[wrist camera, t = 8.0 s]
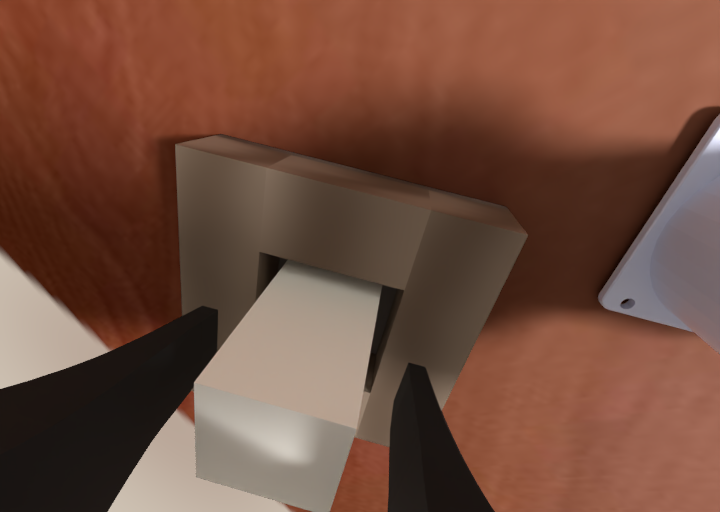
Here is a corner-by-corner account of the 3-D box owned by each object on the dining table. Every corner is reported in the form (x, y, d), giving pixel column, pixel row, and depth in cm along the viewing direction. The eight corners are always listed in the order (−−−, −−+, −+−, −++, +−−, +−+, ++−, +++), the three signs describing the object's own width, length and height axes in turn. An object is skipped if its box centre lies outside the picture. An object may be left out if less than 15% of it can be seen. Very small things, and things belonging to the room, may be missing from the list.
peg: (385, 268, 15) (356, 428, 8) (365, 335, 17) (327, 516, 10) (298, 245, 15) (193, 382, 8) (288, 315, 17) (196, 477, 10)
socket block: (506, 206, 13) (528, 235, 11) (418, 404, 19) (419, 455, 16) (221, 133, 14) (174, 144, 11) (217, 347, 19) (185, 388, 17)
